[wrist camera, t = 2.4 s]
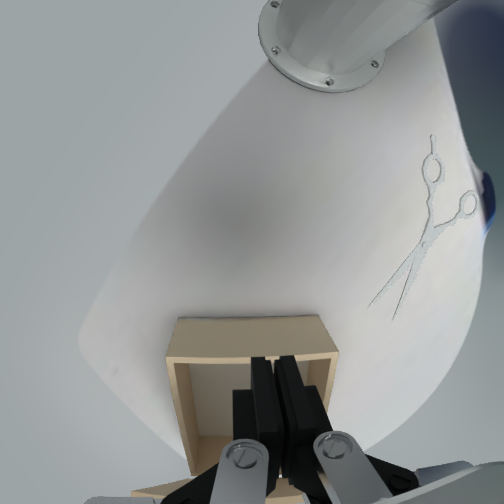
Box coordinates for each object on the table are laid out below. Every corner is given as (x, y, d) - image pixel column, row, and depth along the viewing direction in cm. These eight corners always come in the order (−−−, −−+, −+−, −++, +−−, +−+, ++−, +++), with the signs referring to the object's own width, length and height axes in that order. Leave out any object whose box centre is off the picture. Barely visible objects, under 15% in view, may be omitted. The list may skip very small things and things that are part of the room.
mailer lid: (131, 490, 11) (131, 498, 11) (393, 474, 12) (393, 482, 12) (187, 478, 27) (187, 482, 26) (316, 473, 27) (316, 476, 27)
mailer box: (178, 317, 29) (165, 356, 22) (318, 314, 30) (339, 351, 23) (195, 435, 34) (191, 475, 27) (302, 431, 34) (312, 470, 28)
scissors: (486, 189, 27) (410, 333, 31) (482, 188, 28) (406, 330, 32) (432, 133, 25) (344, 299, 29) (428, 134, 26) (342, 296, 30)
